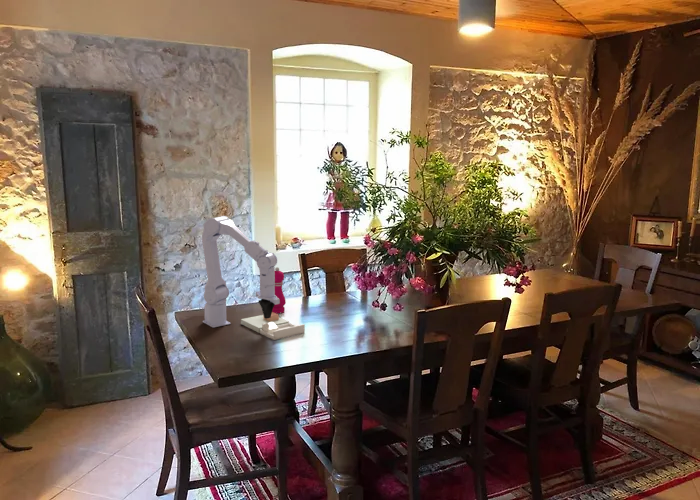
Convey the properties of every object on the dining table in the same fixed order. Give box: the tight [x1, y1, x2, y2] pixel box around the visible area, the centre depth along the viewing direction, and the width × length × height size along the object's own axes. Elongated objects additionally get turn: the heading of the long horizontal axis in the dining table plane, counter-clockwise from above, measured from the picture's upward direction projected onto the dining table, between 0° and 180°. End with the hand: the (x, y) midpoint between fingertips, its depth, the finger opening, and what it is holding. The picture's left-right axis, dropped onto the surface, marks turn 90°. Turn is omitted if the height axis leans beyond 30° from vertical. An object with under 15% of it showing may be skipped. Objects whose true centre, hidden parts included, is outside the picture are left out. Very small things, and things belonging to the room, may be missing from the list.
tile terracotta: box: [262, 312, 280, 321], centre depth 230 cm, size 4×4×2 cm
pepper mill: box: [272, 266, 287, 314], centre depth 246 cm, size 7×7×20 cm
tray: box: [259, 322, 306, 341], centre depth 219 cm, size 10×14×4 cm
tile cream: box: [262, 322, 278, 334], centre depth 219 cm, size 4×4×2 cm
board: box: [240, 314, 290, 334], centre depth 229 cm, size 14×14×2 cm
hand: (267, 317), depth 221 cm, fingers closed
